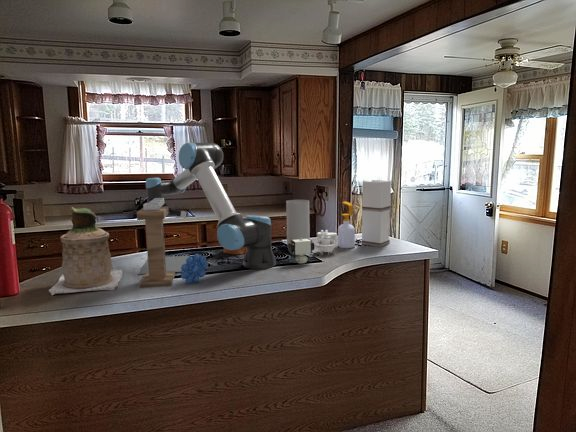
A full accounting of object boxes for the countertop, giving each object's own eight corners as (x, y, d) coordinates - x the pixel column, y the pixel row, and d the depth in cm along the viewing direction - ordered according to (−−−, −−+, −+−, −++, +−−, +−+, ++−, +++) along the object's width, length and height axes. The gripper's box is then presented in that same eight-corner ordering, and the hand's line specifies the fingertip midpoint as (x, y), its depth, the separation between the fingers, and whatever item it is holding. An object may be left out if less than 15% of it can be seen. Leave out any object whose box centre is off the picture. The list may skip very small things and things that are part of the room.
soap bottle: (342, 244, 235) (343, 200, 231) (357, 245, 230) (358, 201, 226) (334, 247, 228) (334, 202, 224) (349, 249, 223) (350, 203, 219)
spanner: (159, 210, 166) (159, 204, 166) (143, 210, 165) (143, 204, 165) (166, 203, 188) (166, 197, 188) (152, 203, 187) (152, 198, 187)
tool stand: (170, 285, 168) (166, 211, 163) (139, 287, 166) (133, 212, 161) (175, 274, 183) (171, 205, 179) (146, 275, 182) (141, 207, 177)
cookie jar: (118, 290, 164) (111, 208, 159) (47, 297, 157) (38, 212, 152) (123, 272, 187) (117, 201, 182) (62, 278, 180) (54, 204, 175)
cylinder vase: (282, 246, 231) (281, 201, 227) (295, 242, 241) (294, 199, 237) (301, 249, 224) (301, 203, 220) (313, 245, 234) (313, 200, 230)
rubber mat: (184, 272, 186) (184, 271, 186) (137, 275, 183) (137, 273, 183) (189, 256, 213) (189, 255, 213) (148, 258, 210) (148, 257, 210)
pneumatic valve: (314, 262, 198) (314, 237, 196) (291, 265, 194) (290, 239, 192) (310, 259, 203) (310, 235, 201) (287, 262, 199) (287, 237, 197)
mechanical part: (313, 256, 210) (313, 232, 208) (316, 250, 222) (315, 228, 220) (336, 256, 208) (336, 233, 206) (337, 250, 220) (337, 228, 218)
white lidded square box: (389, 243, 235) (390, 180, 229) (380, 246, 227) (381, 182, 221) (371, 240, 242) (372, 180, 236) (361, 244, 234) (362, 181, 228)
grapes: (204, 277, 178) (203, 249, 176) (211, 281, 172) (209, 253, 170) (177, 282, 171) (175, 254, 169) (183, 287, 166) (182, 257, 164)
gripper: (183, 220, 216) (195, 224, 198) (132, 213, 204) (141, 217, 185) (185, 205, 216) (198, 208, 198) (135, 198, 204) (144, 200, 185)
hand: (170, 212), depth 192 cm, fingers open, 13 cm apart
